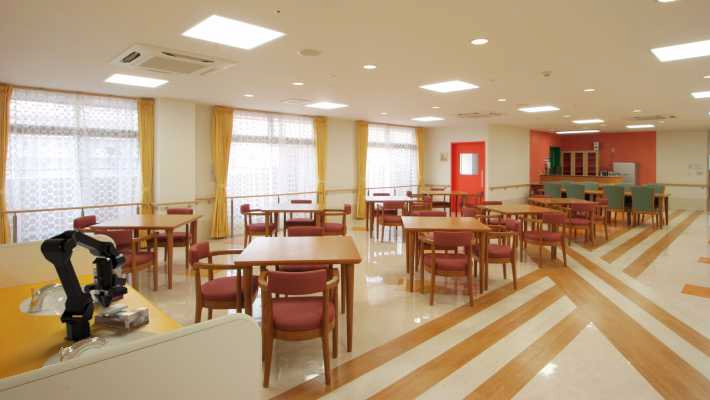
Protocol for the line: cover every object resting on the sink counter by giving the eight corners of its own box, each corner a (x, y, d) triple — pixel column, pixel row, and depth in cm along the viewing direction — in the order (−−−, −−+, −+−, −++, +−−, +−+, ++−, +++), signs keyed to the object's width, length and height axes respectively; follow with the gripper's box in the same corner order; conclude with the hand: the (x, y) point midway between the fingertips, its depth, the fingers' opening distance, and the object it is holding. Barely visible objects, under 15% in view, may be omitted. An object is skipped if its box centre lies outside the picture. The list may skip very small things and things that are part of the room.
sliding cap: (108, 323, 165) (107, 312, 164) (98, 321, 167) (97, 310, 167) (128, 315, 173) (127, 305, 172) (119, 313, 175) (118, 303, 175)
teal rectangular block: (113, 320, 168) (112, 313, 168) (120, 318, 171) (119, 311, 170) (127, 323, 165) (126, 316, 164) (134, 321, 167) (133, 313, 167)
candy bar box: (98, 304, 192) (96, 269, 190) (94, 302, 195) (92, 267, 193) (124, 298, 200) (122, 264, 199) (120, 296, 203) (118, 262, 202)
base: (129, 330, 160) (128, 315, 160) (94, 323, 168) (93, 308, 168) (149, 322, 168) (148, 308, 168) (115, 315, 176) (114, 301, 176)
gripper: (138, 270, 173) (140, 306, 175) (107, 266, 181) (109, 301, 182) (113, 276, 163) (115, 315, 165) (81, 272, 171) (84, 309, 172)
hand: (106, 310), depth 171 cm, fingers closed
